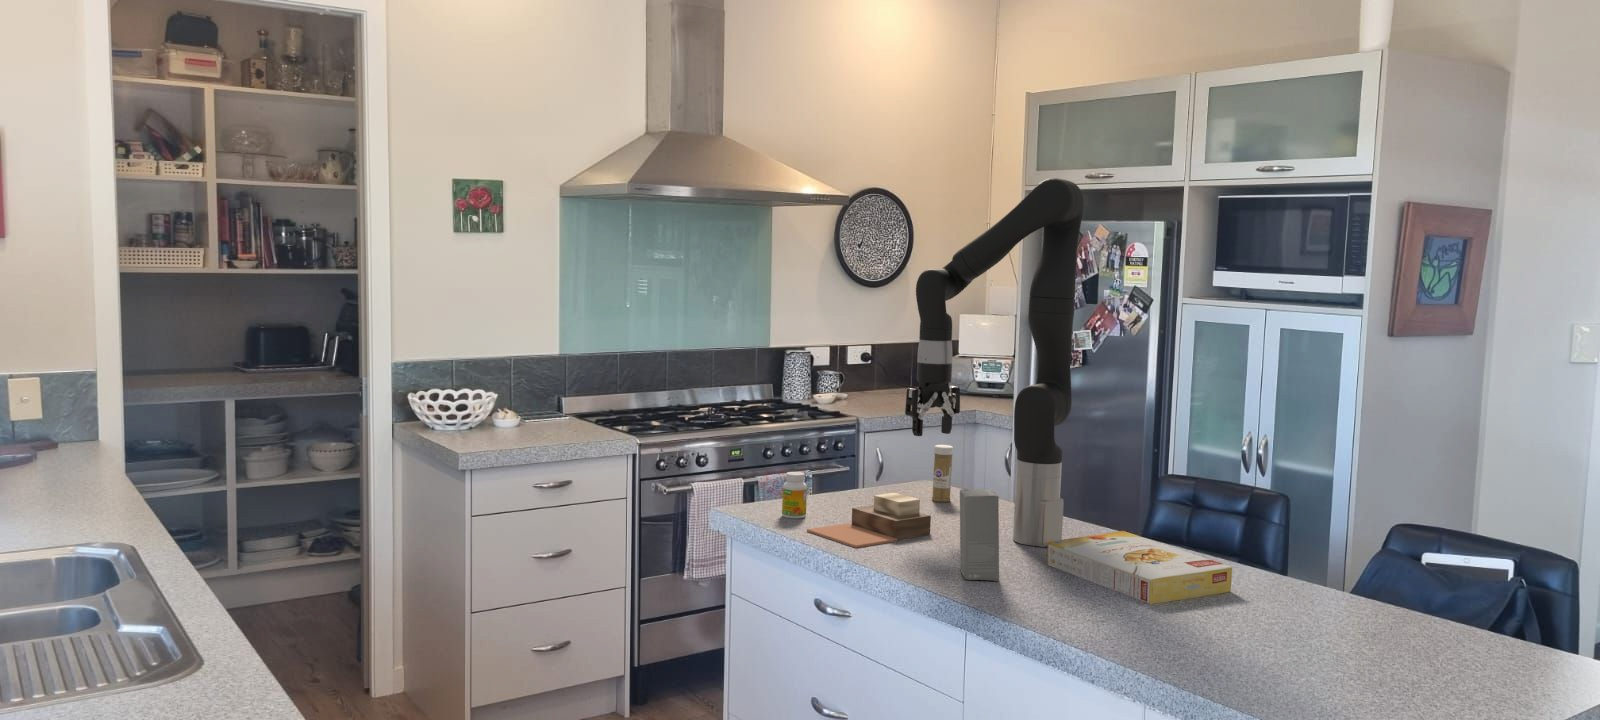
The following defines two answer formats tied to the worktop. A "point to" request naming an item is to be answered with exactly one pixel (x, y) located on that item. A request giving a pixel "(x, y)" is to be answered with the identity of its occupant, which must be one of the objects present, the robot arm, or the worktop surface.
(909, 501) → the birch block
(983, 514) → the skincare box
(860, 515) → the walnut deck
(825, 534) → the terracotta mat
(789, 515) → the supplement bottle
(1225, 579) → the cereal box
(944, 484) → the sprinkles bottle
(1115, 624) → the worktop surface
